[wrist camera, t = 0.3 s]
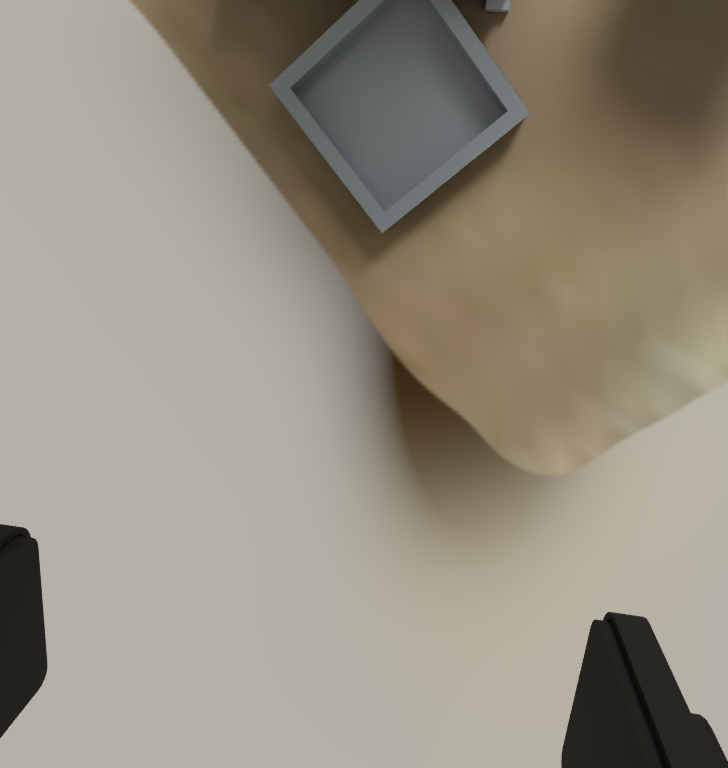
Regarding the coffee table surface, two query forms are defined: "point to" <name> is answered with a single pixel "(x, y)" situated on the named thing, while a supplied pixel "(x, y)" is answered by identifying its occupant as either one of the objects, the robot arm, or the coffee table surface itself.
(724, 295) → the coffee table surface
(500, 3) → the fence
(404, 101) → the dish
